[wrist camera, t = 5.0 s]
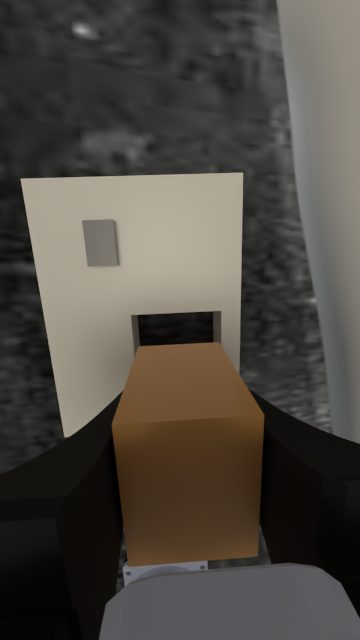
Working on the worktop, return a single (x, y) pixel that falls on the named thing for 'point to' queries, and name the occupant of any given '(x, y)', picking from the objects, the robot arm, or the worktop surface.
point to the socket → (129, 271)
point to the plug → (188, 457)
